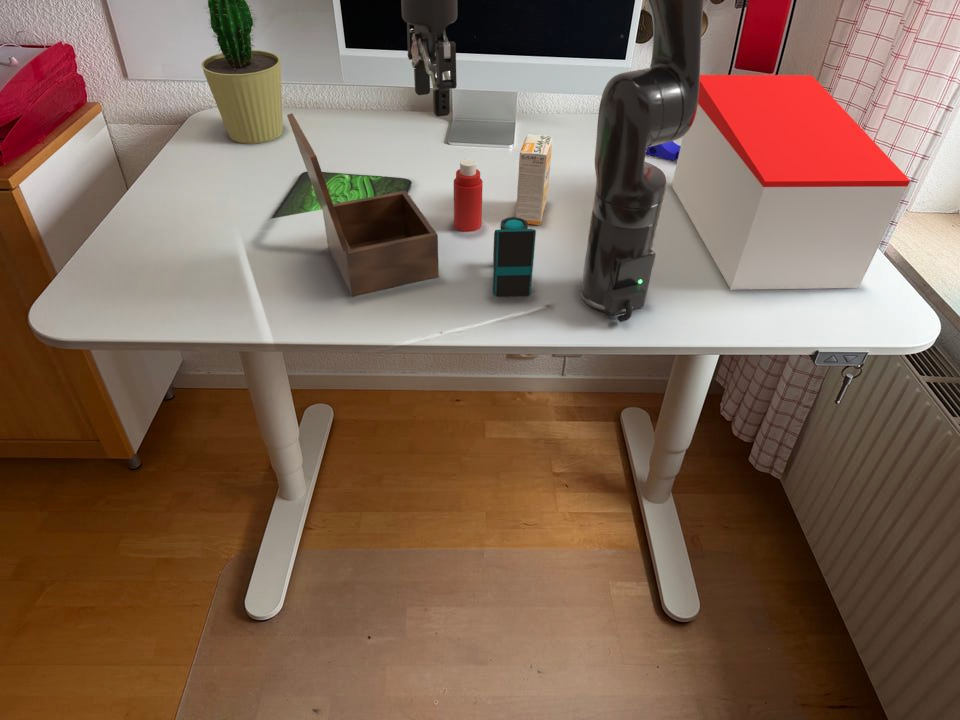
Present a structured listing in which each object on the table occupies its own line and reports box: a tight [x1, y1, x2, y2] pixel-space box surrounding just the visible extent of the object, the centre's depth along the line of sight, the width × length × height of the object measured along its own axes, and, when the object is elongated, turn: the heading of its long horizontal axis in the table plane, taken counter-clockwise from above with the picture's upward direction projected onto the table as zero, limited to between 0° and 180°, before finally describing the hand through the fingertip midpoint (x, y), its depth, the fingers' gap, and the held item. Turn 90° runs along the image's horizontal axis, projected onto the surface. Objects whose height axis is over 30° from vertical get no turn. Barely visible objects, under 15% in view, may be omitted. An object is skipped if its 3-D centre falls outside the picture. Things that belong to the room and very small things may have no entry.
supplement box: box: [515, 133, 554, 226], centre depth 117 cm, size 8×5×13 cm, turn 168°
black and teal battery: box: [492, 216, 537, 298], centre depth 101 cm, size 6×12×10 cm
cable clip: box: [645, 141, 681, 162], centre depth 138 cm, size 12×4×6 cm, turn 57°
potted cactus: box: [201, 0, 284, 145], centre depth 135 cm, size 15×15×30 cm
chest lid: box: [286, 113, 348, 251], centre depth 94 cm, size 15×15×1 cm
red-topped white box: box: [671, 74, 911, 291], centre depth 111 cm, size 21×35×21 cm, turn 3°
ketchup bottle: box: [453, 158, 484, 233], centre depth 112 cm, size 5×5×12 cm
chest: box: [322, 191, 440, 298], centre depth 105 cm, size 14×15×8 cm
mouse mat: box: [270, 171, 413, 219], centre depth 120 cm, size 27×22×1 cm
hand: (431, 104), depth 99 cm, fingers open, 8 cm apart
